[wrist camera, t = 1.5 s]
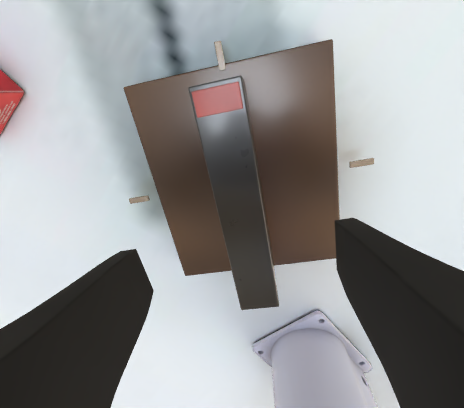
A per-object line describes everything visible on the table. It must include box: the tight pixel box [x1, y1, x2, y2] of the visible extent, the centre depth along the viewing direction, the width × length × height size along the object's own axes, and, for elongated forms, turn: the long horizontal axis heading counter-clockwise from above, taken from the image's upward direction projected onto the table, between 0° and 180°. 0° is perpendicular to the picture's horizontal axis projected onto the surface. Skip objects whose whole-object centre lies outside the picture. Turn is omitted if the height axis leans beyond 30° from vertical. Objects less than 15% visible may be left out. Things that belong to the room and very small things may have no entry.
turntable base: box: [124, 39, 374, 276], centre depth 18 cm, size 16×16×2 cm
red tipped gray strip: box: [188, 76, 279, 310], centre depth 15 cm, size 12×2×5 cm, turn 11°
